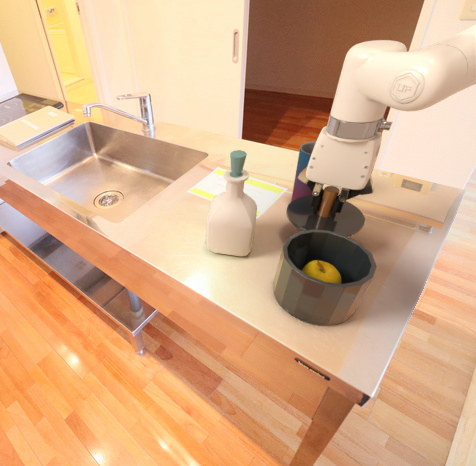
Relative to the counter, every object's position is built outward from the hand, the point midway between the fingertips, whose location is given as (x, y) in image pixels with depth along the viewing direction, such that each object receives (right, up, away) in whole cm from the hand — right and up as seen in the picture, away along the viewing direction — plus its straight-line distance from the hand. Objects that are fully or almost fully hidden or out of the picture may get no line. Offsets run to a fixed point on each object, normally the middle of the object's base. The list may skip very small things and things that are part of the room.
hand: (324, 211), depth 66 cm
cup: (+4, +3, +15) cm, 16 cm away
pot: (-6, -16, -6) cm, 18 cm away
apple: (-6, -16, -6) cm, 18 cm away
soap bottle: (-18, -7, +7) cm, 20 cm away
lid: (0, -1, +1) cm, 1 cm away
